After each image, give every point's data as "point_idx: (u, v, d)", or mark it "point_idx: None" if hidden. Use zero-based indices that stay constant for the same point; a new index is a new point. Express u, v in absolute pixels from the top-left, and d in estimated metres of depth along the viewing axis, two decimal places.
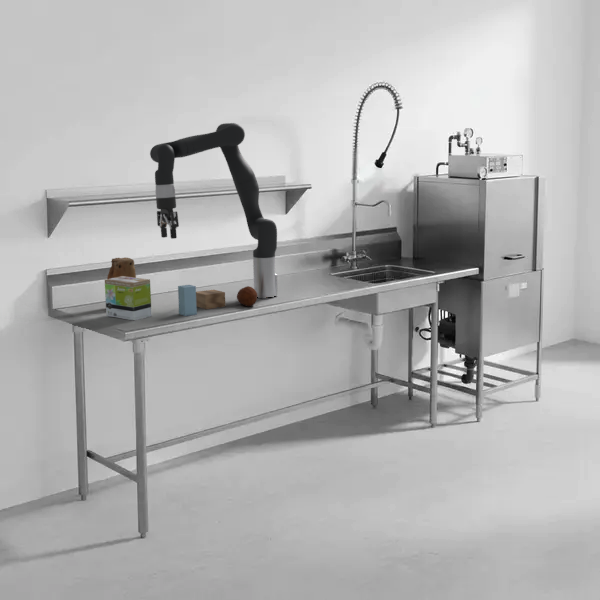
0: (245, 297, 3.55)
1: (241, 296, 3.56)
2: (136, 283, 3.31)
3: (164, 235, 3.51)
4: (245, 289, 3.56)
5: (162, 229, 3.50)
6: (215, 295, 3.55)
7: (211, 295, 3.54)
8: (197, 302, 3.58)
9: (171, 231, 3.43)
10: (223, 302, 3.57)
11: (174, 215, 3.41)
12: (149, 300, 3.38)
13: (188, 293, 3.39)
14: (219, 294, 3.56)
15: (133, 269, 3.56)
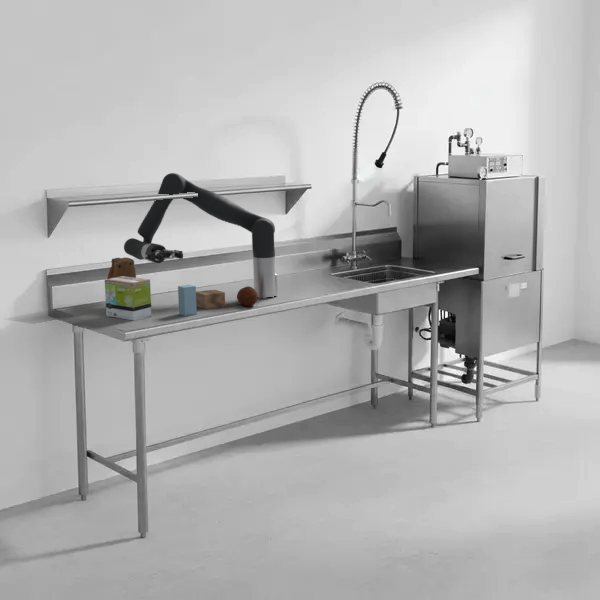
0: (245, 297, 3.55)
1: (241, 296, 3.56)
2: (136, 283, 3.31)
3: (180, 256, 3.51)
4: (245, 289, 3.56)
5: (177, 257, 3.53)
6: (214, 295, 3.54)
7: (210, 295, 3.54)
8: (197, 302, 3.58)
9: (158, 259, 3.48)
10: (223, 302, 3.57)
11: (146, 256, 3.52)
12: (149, 300, 3.38)
13: (188, 293, 3.39)
14: (219, 294, 3.55)
15: (133, 269, 3.56)
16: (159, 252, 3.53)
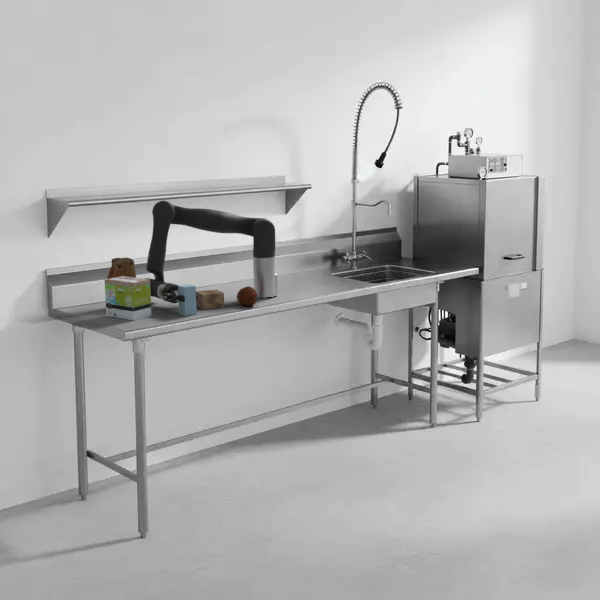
0: (245, 297, 3.55)
1: (241, 296, 3.56)
2: (136, 283, 3.31)
3: None
4: (245, 289, 3.56)
5: None
6: (213, 295, 3.54)
7: (209, 295, 3.53)
8: (197, 302, 3.59)
9: (179, 300, 3.41)
10: (222, 302, 3.56)
11: (164, 297, 3.43)
12: (149, 300, 3.38)
13: (188, 293, 3.39)
14: (217, 294, 3.55)
15: (133, 269, 3.56)
16: None
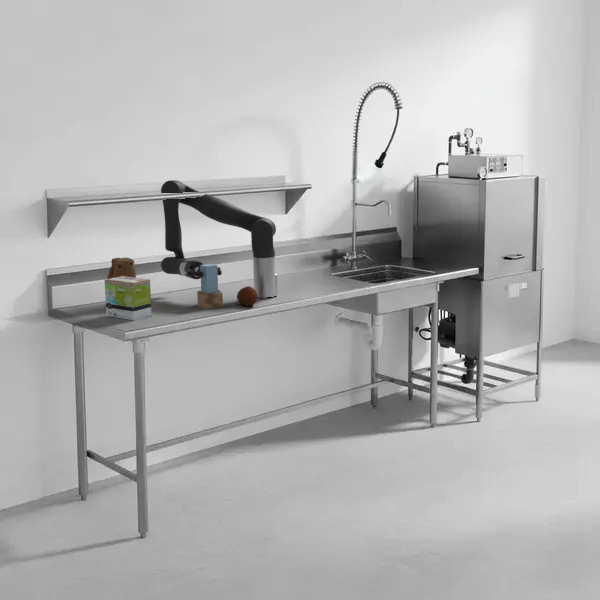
0: (245, 297, 3.55)
1: (241, 296, 3.56)
2: (136, 283, 3.31)
3: (218, 272, 3.58)
4: (245, 289, 3.56)
5: None
6: (211, 296, 3.54)
7: (207, 295, 3.53)
8: (198, 302, 3.60)
9: (198, 276, 3.55)
10: (220, 303, 3.55)
11: (185, 273, 3.58)
12: (149, 299, 3.38)
13: (210, 272, 3.54)
14: (216, 295, 3.54)
15: (133, 269, 3.56)
16: (198, 269, 3.59)
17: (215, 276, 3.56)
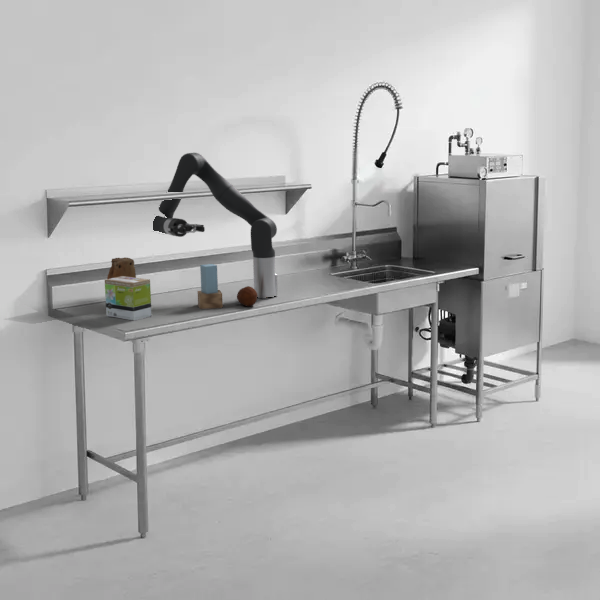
0: (245, 297, 3.55)
1: (241, 296, 3.56)
2: (136, 283, 3.31)
3: (201, 229, 3.65)
4: (245, 289, 3.56)
5: (199, 230, 3.68)
6: (211, 295, 3.54)
7: (206, 295, 3.54)
8: (198, 301, 3.60)
9: (181, 232, 3.62)
10: (220, 303, 3.55)
11: (169, 229, 3.66)
12: (149, 300, 3.38)
13: (210, 272, 3.54)
14: (215, 295, 3.54)
15: (133, 269, 3.56)
16: (181, 226, 3.67)
17: (215, 276, 3.55)
